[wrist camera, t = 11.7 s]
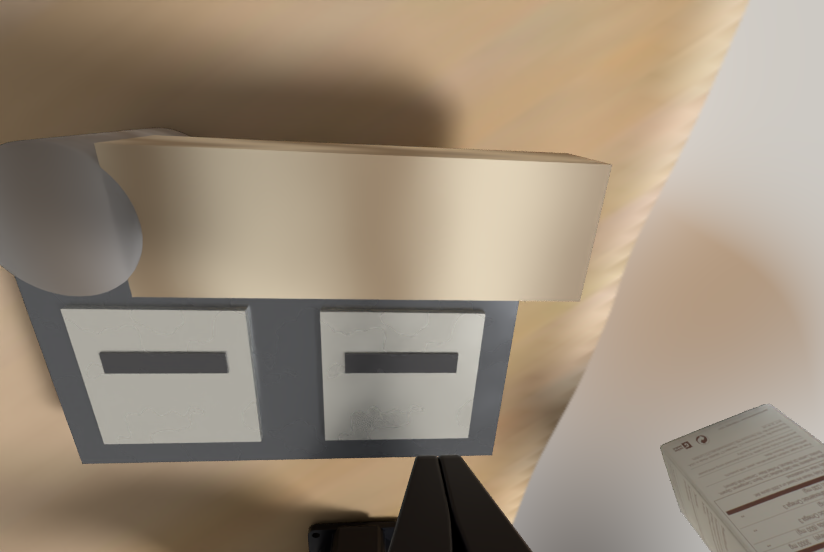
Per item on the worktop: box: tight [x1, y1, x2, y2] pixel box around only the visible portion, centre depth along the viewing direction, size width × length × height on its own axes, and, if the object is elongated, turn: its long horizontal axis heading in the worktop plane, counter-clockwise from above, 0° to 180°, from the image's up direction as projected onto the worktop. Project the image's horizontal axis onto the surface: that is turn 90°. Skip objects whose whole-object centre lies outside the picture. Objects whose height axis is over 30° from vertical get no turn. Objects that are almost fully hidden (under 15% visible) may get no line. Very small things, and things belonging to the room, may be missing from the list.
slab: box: [15, 276, 519, 464], centre depth 19 cm, size 10×20×3 cm, turn 87°
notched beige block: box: [0, 128, 612, 302], centre depth 15 cm, size 18×4×6 cm, turn 87°
